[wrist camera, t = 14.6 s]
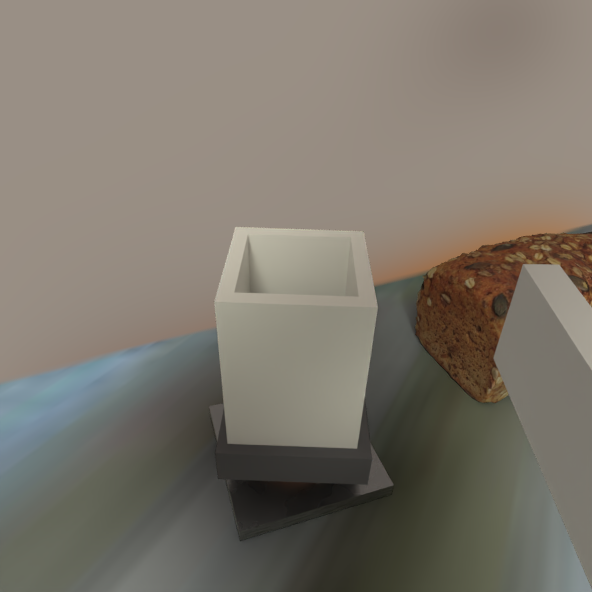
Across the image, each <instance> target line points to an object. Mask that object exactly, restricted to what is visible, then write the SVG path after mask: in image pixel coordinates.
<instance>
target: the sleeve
mask: <svg viewBox="0 0 592 592" xmlns="http://www.w3.org/2000/svg"><path fill="white" fill-rule="evenodd" d="M214 304H215V315H216V325H217V336H218V347H219V358H220V369H221V379H222V390H223V401H224V412H225V423H226V433H227V444H247V445H273V446H300V447H327V448H354V449H357V445H358V439H359V432H360V425H361V418H362V412H363V405H364V398H365V391H366V385H367V378H368V371H369V364H370V357H371V351H372V344H373V337H374V330H375V324H376V317H377V310H378V305H377V300H376V295H375V289H374V284H373V279H372V273H371V268H370V263H369V257H368V252H367V246H366V241H365V235H364V231H340V230H339V231H338V230H310V229H279V228H248V227H247V228H246V227H236V228H235V231H234V235H233V238H232V242H231V246H230V249H229V252H228V256H227V259H226V263H225V266H224V270H223V273H222V277H221V280H220V284H219V287H218V291H217V294H216V298H215V301H214Z"/></svg>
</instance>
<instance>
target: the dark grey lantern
mask: <svg viewBox="0 0 592 592" xmlns="http://www.w3.org/2000/svg"><path fill="white" fill-rule="evenodd" d="M223 410H224V403H221V404H216V405H212V406H209V411H210V418H211V422H212V426H213V430H214V434H215V438H216V443H217V441H218V436H219V430H220V425H221V420H222V415H223ZM370 445H371V443H370ZM371 453H372V463H371V469H370V474H369V480H368V485H361V484H335V483H309V482H283V481H256V480H230V479H225V480H226V484H227V488H228V493H229V497H230V501H231V505H232V509H233V514H234V518H235V522H236V526H237V530H238V534H239V539H240V541H241V540H245V539H248V538H251V537H254V536H258V535H261V534H264V533H267V532H271V531H274V530H277V529H280V528H284V527H287V526H290V525H293V524H297V523H300V522H303V521H307V520H310V519H313V518H316V517H320V516H323V515H326V514H329V513H333V512H336V511H339V510H342V509H346V508H349V507H352V506H355V505H359V504H362V503H365V502H368V501H372V500H375V499H378V498H382V497H385V496H388V495H391V494H392V491H393V487H394V485H393V483H392V481H391V479H390V477H389V476H388V474H387V472H386V470H385V468H384V466H383V465H382V463H381V461H380V459H379V457H378V456H377V454H376V452H375V450H374V448H373V447H372V445H371Z"/></svg>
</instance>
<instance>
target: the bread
mask: <svg viewBox="0 0 592 592" xmlns="http://www.w3.org/2000/svg"><path fill="white" fill-rule="evenodd" d="M523 264H548V265H560V266H561V268H562V269H563V270H564V272H565V273H566V274H567V276H568V277H569V278H570V280H571V281H572V282H573V284H574V285H575V286H576V288H577V289H578V290H579V291H580V293H581V294H582V295H583V297H584V298H585V299H586V301H587V302H588V303H589V305H590V306H591V307H592V232H588V233H583V234H566V233H561V234H547V233H546V234H538V235H532V236H523V237H519V238H518V239H516V240H510V241H509V242H502V243H499V244H495V245H483V246H481V247H480V248H479V249H478V250H476V251H474V252H470V253H469V254H465V253H462V254H461V256H458V257H456V258H453V259H450V260H449V261H448V262H445V263H441V264H440V265H438V266H436V267H433V268H432V269H431V270H430V271H429V272H428V273H427V274H426V275H425V276H423V278H424V282H423V284H422V287H421V290H420V291H419V293H418V299H417V301H416V306H417V317H416V321H417V323H416V326H415V328H416V334H415V335H417V336H418V337H419V339H420V342H421V343H422V345H423V346H424V348H425V349H426V350H427V351H428V353H429V354H430V355H431V356H432V357H434V359H435V360H436V361H437V363H438V364H440V365H441V366H442V367H443V368H444V369H445V370H446V371H447V372H448V373H449V375H450V376H451V378H452V379H454V380H455V381H456V382H457V383H458V384H459V385H460V386H461V387H462V388H463V389H464V391H465V392H466V393H467V394H468V395H469V396H471V397H472V398H474V399H475V400H477V401H478V402H483V403H485V402H494V403H496V402H498V401H500V400H501V399H503V398H505V397H506V396H508V395H509V394H508V391H507V389H506V387H505V384H504V382H503V380H502V377H501V375H500V373H499V370H498V368H497V366H496V363H495V361H494V359H493V358H494V355H495V351H496V348H497V345H498V342H499V339H500V336H501V332H502V329H503V326H504V323H505V320H506V317H507V313H508V310H509V307H510V304H511V301H512V298H513V294H514V291H515V288H516V285H517V282H518V279H519V275H520V272H521V269H522V266H523Z"/></svg>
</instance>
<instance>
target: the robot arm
mask: <svg viewBox="0 0 592 592" xmlns="http://www.w3.org/2000/svg"><path fill="white" fill-rule="evenodd" d="M493 359H494V361H495V363H496V366H497V368H498V370H499V373H500V375H501V377H502V380H503V382H504V384H505V387H506V389H507V391H508V394H509V396H510V398H511V401H512V403H513V405H514V408H515V410H516V412H517V415H518V417H519V419H520V422H521V424H522V426H523V429H524V431H525V433H526V436H527V438H528V440H529V443H530V445H531V448H532V450H533V452H534V455H535V457H536V459H537V462H538V464H539V466H540V469H541V471H542V473H543V476H544V478H545V480H546V483H547V485H548V487H549V490H550V492H551V494H552V497H553V499H554V501H555V504H556V506H557V508H558V511H559V513H560V515H561V518H562V520H563V522H564V525H565V527H566V529H567V532H568V534H569V537H570V539H571V541H572V544H573V546H574V548H575V551H576V553H577V555H578V558H579V560H580V562H581V565H582V567H583V569H584V572H585V574H586V576H587V579H588V581H589V583H590V586H591V588H592V307H591V306H590V305H589V303H588V302H587V301H586V299H585V298H584V297H583V295H582V294H581V293H580V291H579V290H578V289H577V288H576V286H575V285H574V284H573V282H572V281H571V280H570V278H569V277H568V276H567V274H566V273H565V272H564V270H563V269H562V268H561V266H560V265H548V264H523V266H522V269H521V272H520V275H519V279H518V282H517V285H516V288H515V291H514V294H513V298H512V301H511V304H510V307H509V310H508V313H507V317H506V320H505V323H504V326H503V329H502V332H501V336H500V339H499V342H498V345H497V348H496V351H495V355H494V358H493Z"/></svg>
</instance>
